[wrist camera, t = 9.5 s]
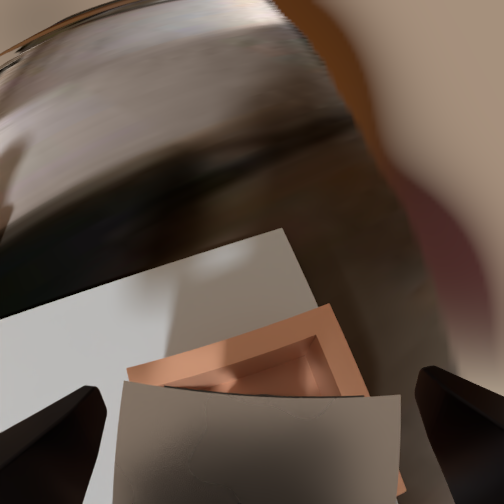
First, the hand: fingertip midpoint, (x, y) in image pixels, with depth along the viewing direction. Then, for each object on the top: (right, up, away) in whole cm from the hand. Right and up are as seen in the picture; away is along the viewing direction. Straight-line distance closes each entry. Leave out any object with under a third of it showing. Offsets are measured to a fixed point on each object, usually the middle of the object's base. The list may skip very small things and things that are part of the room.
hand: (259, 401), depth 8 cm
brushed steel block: (0, -5, +6) cm, 8 cm away
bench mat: (-6, -6, +7) cm, 11 cm away
